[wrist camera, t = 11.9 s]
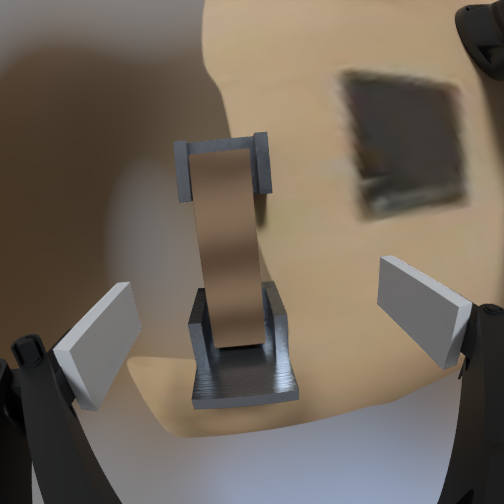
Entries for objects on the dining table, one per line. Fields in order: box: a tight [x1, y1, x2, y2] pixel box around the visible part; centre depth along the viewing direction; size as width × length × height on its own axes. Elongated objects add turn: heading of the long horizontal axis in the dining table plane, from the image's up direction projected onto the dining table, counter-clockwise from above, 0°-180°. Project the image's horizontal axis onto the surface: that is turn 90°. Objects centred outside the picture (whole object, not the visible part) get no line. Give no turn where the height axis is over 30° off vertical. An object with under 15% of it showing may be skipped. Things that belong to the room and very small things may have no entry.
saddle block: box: [174, 132, 272, 202], centre depth 29 cm, size 6×9×4 cm, turn 95°
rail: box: [189, 148, 266, 348], centre depth 28 cm, size 18×5×6 cm, turn 5°
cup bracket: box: [188, 281, 299, 409], centre depth 28 cm, size 6×9×14 cm, turn 95°
